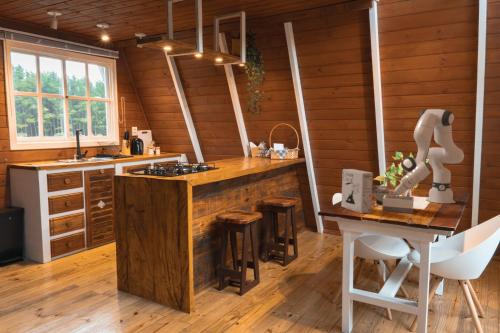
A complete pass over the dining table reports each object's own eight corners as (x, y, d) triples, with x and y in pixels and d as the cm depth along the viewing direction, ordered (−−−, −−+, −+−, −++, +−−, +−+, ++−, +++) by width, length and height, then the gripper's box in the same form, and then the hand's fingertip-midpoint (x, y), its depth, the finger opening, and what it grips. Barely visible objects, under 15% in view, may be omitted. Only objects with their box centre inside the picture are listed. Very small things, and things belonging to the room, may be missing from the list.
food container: (392, 204, 273) (393, 189, 272) (393, 205, 267) (393, 191, 266) (373, 202, 276) (374, 188, 275) (374, 204, 270) (374, 190, 269)
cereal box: (341, 206, 262) (342, 169, 260) (350, 205, 265) (352, 168, 262) (361, 213, 242) (362, 173, 240) (371, 212, 245) (373, 172, 242)
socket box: (383, 206, 264) (384, 194, 263) (412, 209, 257) (413, 197, 256) (382, 210, 251) (382, 198, 250) (412, 213, 244) (413, 200, 243)
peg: (388, 204, 258) (389, 189, 257) (394, 205, 256) (395, 190, 255) (387, 205, 254) (388, 190, 253) (394, 206, 253) (395, 191, 252)
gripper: (404, 177, 260) (388, 190, 265) (403, 180, 242) (386, 195, 246) (411, 184, 259) (395, 197, 264) (411, 188, 240) (393, 202, 245)
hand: (390, 196), depth 255 cm, fingers closed on peg, 4 cm apart
